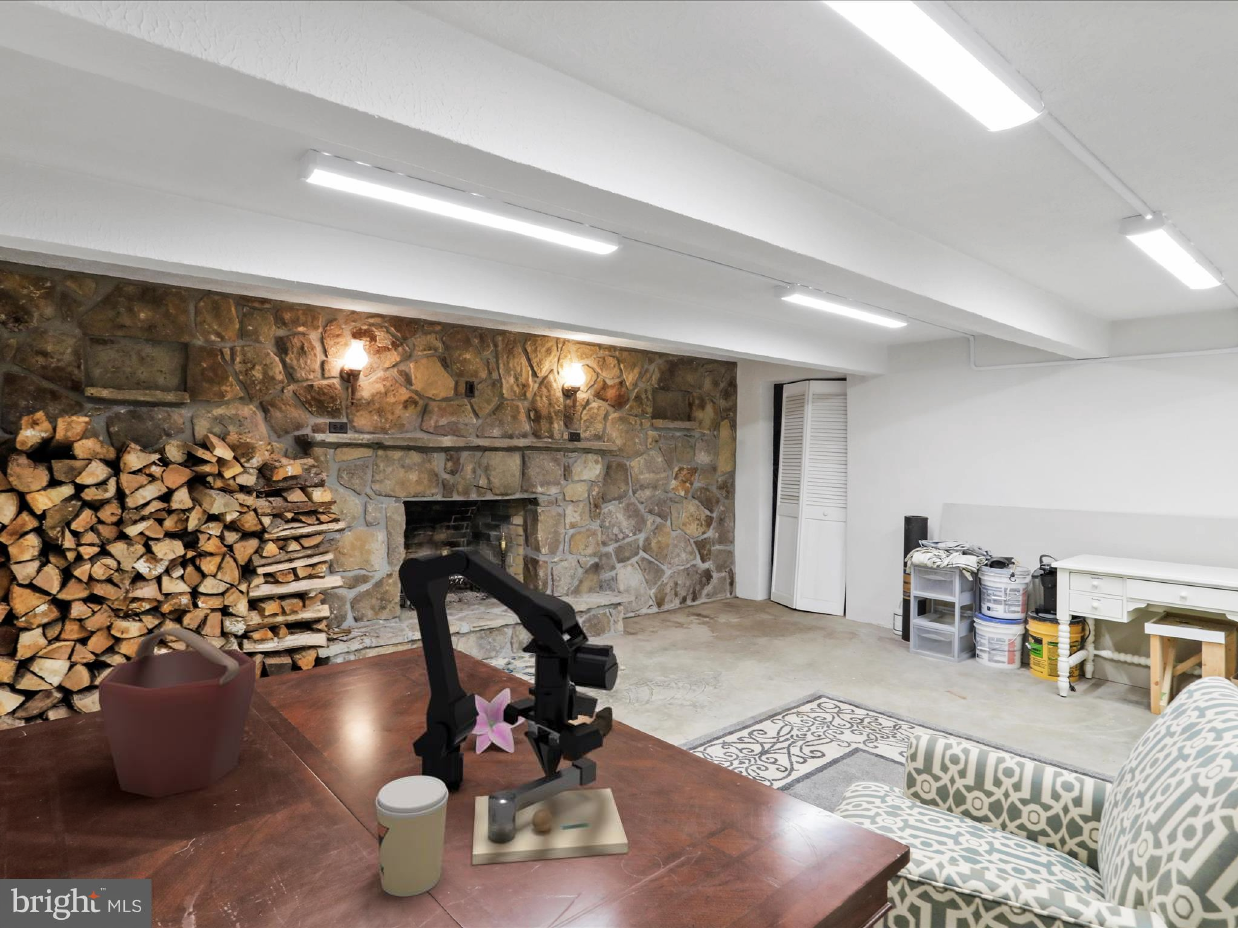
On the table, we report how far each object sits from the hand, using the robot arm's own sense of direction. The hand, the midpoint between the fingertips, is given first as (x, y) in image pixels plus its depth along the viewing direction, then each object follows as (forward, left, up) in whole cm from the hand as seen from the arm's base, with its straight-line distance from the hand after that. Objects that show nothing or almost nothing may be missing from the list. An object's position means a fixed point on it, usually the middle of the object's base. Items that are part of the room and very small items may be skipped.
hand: (550, 777), depth 114 cm
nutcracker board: (-1, -6, -5) cm, 8 cm away
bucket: (-63, +19, -5) cm, 66 cm away
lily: (-9, +25, -5) cm, 27 cm away
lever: (-1, -5, -3) cm, 6 cm away
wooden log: (+10, +24, -6) cm, 27 cm away
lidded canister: (-20, -16, -5) cm, 26 cm away
